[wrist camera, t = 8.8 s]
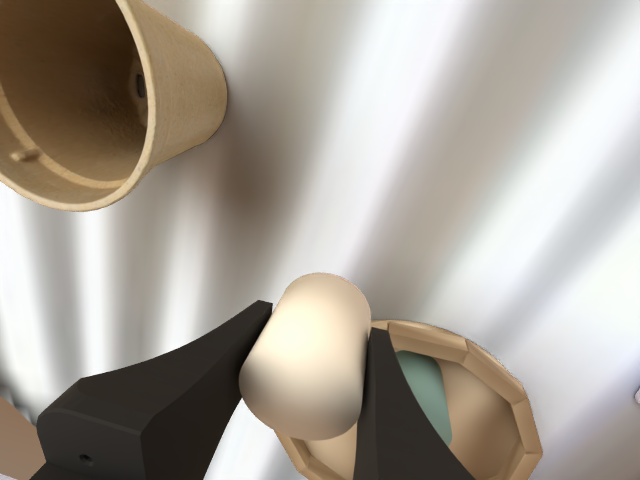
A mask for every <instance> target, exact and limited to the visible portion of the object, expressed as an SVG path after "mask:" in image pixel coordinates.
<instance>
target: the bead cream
mask: <svg viewBox="0 0 640 480" xmlns="http://www.w3.org/2000/svg"><path fill="white" fill-rule="evenodd" d="M370 322H371V312H370V307H369V304H368V302H367V300H366V298H365V296H364V295H363V293H362V292H361V291H360V290H359V289H358V288H357V287H356V286H355V285H354V284H352V283H351V282H349V281H348V280H346V279H344V278H342V277H339V276H337V275H333V274H328V273H312V274H307V275H304V276H302V277H300V278H298V279H296V280H295V281H293V282H292V283H291V284H290V285H289V286H288V287H287V289H286V290H285V292H284V294H283V296H282V297H281V299H280V301H279V302H278V304H277V306H276V308H275V309H274V311H273V313H272V315H271V316H270V318H269V320H268V322H267V323H266V325H265V327H264V329H263V330H262V332H261V334H260V336H259V337H258V339H257V341H256V343H255V344H254V346H253V348H252V350H251V351H250V353H249V355H248V357H247V358H246V360H245V362H244V364H243V366H242V367H241V370H240V373H239V388H240V392H241V395H242V398H243V400H244V402H245V404H246V405H247V407H248V408H249V409H250V411H251V412H252V413H253V414H254V415H255V416H256V417H257V418H258V419H259V420H260V421H261V422H263V423H264V424H265V425H267V426H268V427H270V428H271V429H273V430H275V431H277V432H279V433H281V434H284V435H286V436H289V437H292V438H296V439H301V440H310V441H320V440H328V439H332V438H335V437H338V436H340V435H342V434H344V433H345V432H347V431H348V430H349V429H351V428H352V427H353V425H354V424H355V423H356V421H357V420H358V418H359V415H360V412H361V406H362V397H363V388H364V378H365V369H366V358H367V349H368V340H369V332H370Z"/></svg>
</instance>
